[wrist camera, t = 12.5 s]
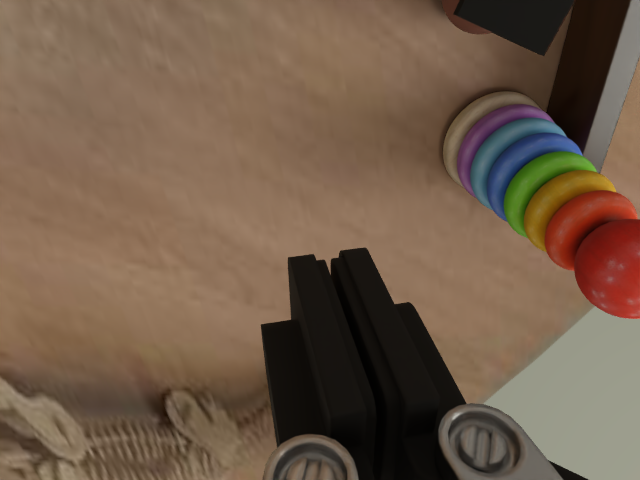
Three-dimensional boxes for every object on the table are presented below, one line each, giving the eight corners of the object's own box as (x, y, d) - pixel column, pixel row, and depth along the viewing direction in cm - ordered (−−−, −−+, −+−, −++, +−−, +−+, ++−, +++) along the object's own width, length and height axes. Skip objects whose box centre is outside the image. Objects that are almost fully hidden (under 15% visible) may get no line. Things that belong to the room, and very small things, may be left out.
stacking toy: (468, 74, 35) (671, 207, 20) (555, 102, 38) (792, 238, 23) (422, 173, 39) (563, 347, 24) (504, 192, 42) (678, 360, 27)
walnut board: (523, 205, 43) (556, 237, 39) (623, -190, 28) (694, -205, 24) (544, 202, 43) (579, 234, 39) (654, -190, 29) (729, -204, 25)
